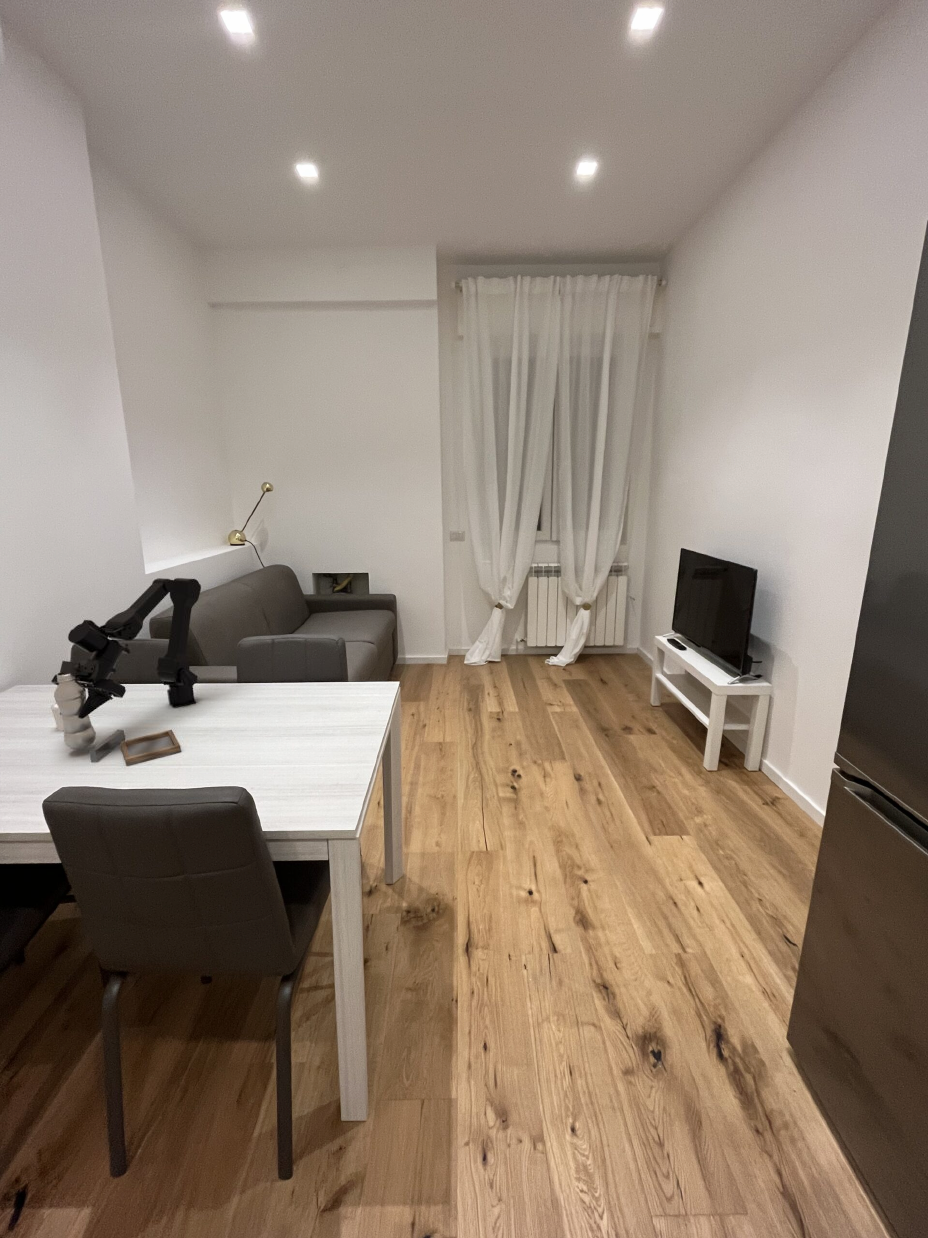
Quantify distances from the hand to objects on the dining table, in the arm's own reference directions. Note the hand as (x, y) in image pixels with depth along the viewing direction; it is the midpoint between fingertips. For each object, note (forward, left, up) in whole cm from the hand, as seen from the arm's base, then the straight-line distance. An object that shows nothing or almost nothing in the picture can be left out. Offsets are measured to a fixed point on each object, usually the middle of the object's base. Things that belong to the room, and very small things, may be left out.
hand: (71, 716), depth 136 cm
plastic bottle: (-1, -1, -9) cm, 9 cm away
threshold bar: (-6, +3, -10) cm, 12 cm away
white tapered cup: (+1, -21, -10) cm, 23 cm away
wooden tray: (-15, +9, -10) cm, 20 cm away
